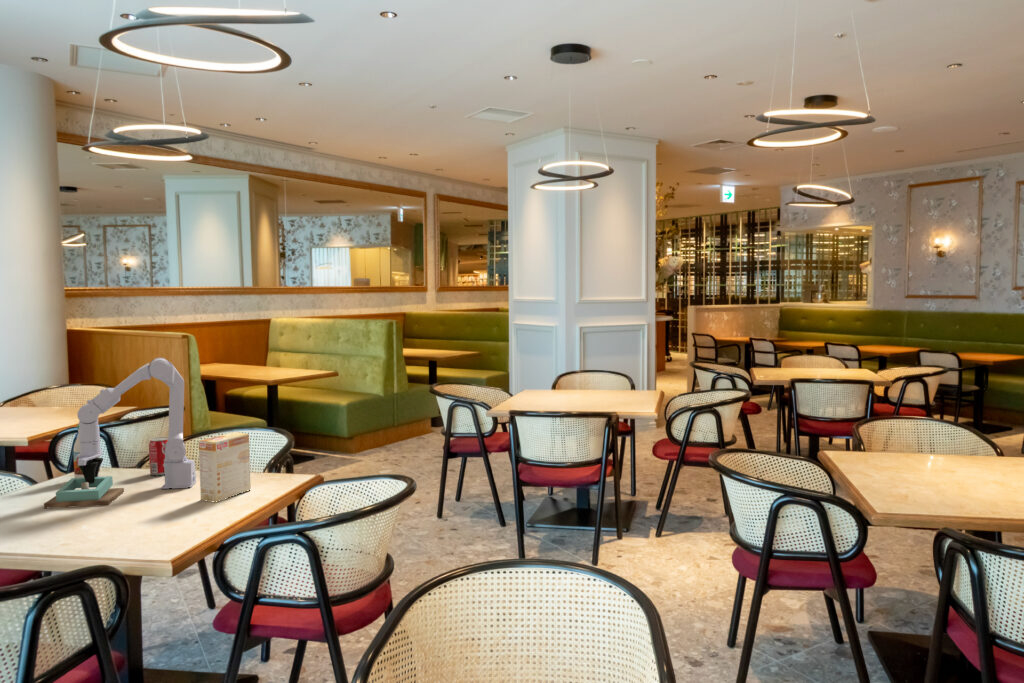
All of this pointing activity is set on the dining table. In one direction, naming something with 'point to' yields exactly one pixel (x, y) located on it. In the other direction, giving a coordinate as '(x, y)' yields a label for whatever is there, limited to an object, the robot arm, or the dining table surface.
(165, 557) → the dining table surface
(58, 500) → the teal square frame
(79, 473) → the milk bottle
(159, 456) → the soda can
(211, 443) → the coffeecake box
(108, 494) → the board
